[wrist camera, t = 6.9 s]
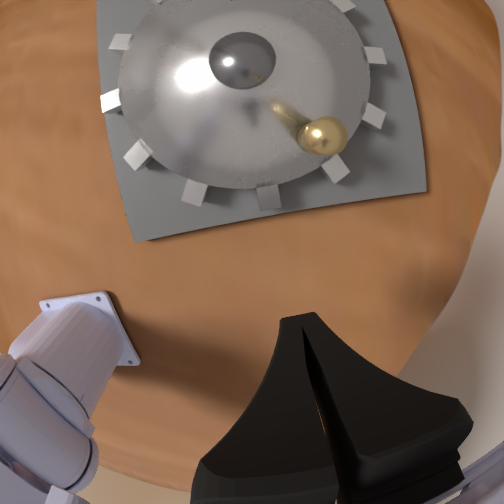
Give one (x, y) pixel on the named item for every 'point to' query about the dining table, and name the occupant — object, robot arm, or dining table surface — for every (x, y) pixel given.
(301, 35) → the sprocket
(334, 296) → the dining table surface
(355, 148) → the timing board
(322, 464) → the robot arm
